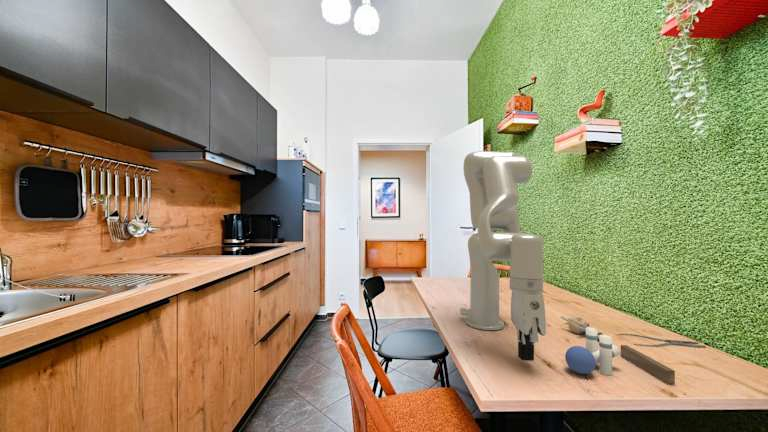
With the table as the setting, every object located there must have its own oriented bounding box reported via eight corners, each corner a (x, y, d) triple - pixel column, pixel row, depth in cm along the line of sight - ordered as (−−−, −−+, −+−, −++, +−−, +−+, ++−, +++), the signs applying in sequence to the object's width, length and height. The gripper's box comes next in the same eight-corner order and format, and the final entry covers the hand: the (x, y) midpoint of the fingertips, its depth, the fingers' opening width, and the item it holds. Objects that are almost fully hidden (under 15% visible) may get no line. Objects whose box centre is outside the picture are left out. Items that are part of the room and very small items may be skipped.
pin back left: (585, 363, 76) (585, 329, 76) (586, 359, 78) (585, 326, 78) (597, 366, 74) (597, 331, 74) (598, 362, 76) (597, 328, 76)
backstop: (667, 384, 66) (667, 370, 66) (620, 356, 80) (620, 344, 80) (674, 384, 66) (674, 370, 66) (626, 356, 80) (626, 345, 80)
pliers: (612, 332, 97) (676, 334, 96) (612, 335, 97) (676, 336, 96) (637, 345, 87) (708, 346, 86) (637, 348, 87) (708, 349, 86)
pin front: (580, 356, 73) (614, 343, 73) (578, 358, 75) (610, 345, 75) (588, 366, 72) (622, 353, 71) (585, 368, 74) (618, 355, 73)
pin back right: (598, 373, 71) (598, 336, 71) (599, 369, 73) (599, 333, 73) (612, 376, 69) (612, 339, 69) (612, 372, 71) (612, 336, 71)
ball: (596, 378, 70) (567, 377, 72) (588, 352, 74) (560, 351, 76) (602, 369, 66) (571, 367, 68) (593, 342, 70) (564, 341, 72)
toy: (601, 332, 86) (556, 308, 100) (594, 349, 86) (550, 322, 100) (623, 337, 90) (577, 313, 103) (616, 353, 90) (571, 327, 104)
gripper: (557, 291, 67) (557, 374, 67) (528, 279, 82) (528, 347, 81) (523, 290, 67) (522, 373, 67) (500, 278, 82) (500, 346, 82)
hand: (525, 358), depth 74 cm, fingers closed
